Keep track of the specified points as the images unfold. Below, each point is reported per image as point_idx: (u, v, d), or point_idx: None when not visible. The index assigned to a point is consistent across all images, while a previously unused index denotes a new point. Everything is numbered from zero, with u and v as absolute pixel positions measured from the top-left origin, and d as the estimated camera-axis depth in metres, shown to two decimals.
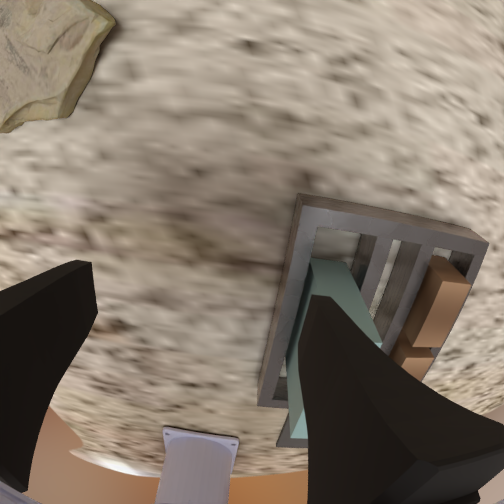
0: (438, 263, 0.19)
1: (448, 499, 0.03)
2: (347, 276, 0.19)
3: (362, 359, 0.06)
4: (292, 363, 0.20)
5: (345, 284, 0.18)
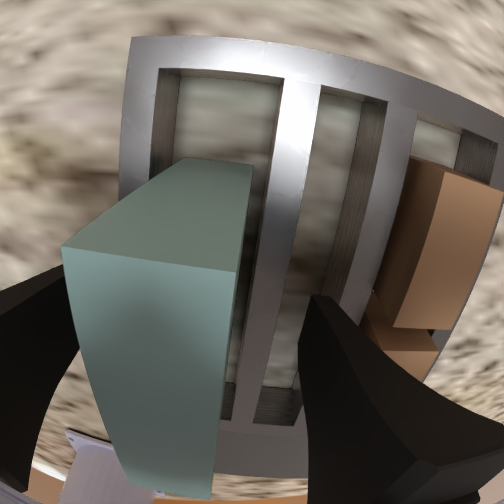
0: (433, 164, 0.10)
1: (448, 499, 0.03)
2: (240, 173, 0.09)
3: (362, 359, 0.06)
4: None
5: (224, 178, 0.09)
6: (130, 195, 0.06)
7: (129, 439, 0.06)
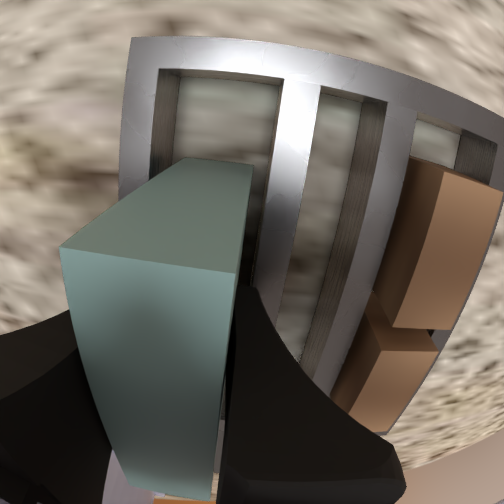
0: (433, 164, 0.10)
1: None
2: (240, 174, 0.09)
3: (253, 350, 0.06)
4: None
5: (224, 179, 0.08)
6: (129, 195, 0.06)
7: (128, 440, 0.06)
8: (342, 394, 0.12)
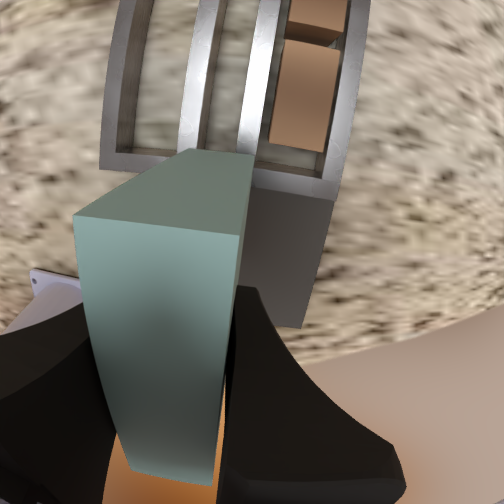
0: None
1: None
2: (241, 162, 0.10)
3: (252, 350, 0.06)
4: None
5: (226, 166, 0.09)
6: (137, 177, 0.07)
7: (132, 418, 0.06)
8: (272, 114, 0.14)
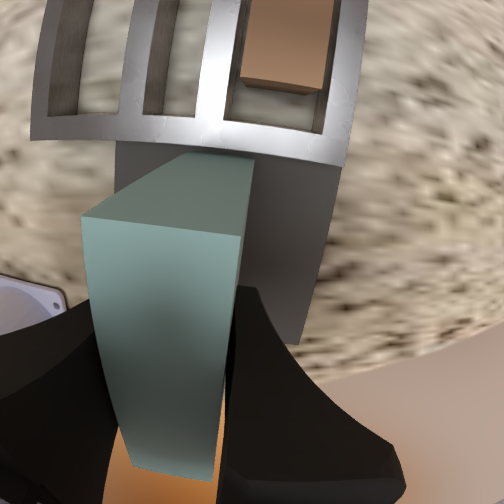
0: None
1: None
2: (242, 164, 0.10)
3: (252, 350, 0.06)
4: None
5: (227, 168, 0.09)
6: (141, 179, 0.07)
7: (134, 413, 0.06)
8: None
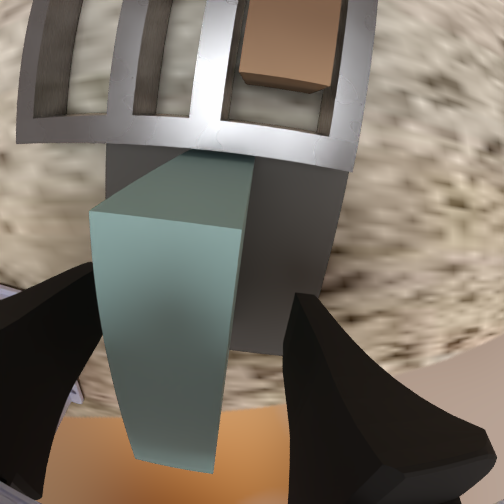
0: None
1: None
2: (242, 162, 0.10)
3: (340, 358, 0.06)
4: None
5: (228, 165, 0.09)
6: (145, 176, 0.07)
7: (138, 404, 0.07)
8: None
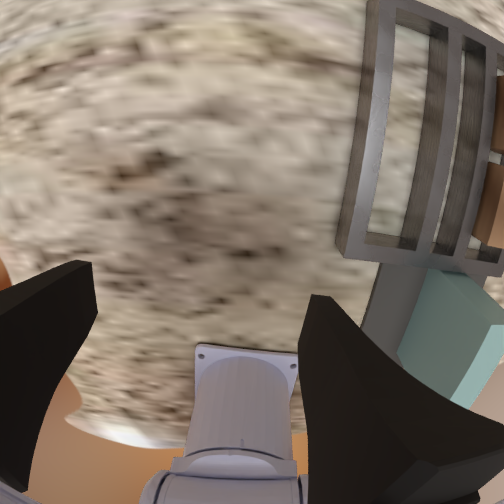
0: None
1: (448, 499, 0.03)
2: (466, 276, 0.18)
3: (362, 359, 0.06)
4: (418, 360, 0.19)
5: (469, 282, 0.17)
6: (469, 299, 0.15)
7: (461, 391, 0.14)
8: (482, 218, 0.16)
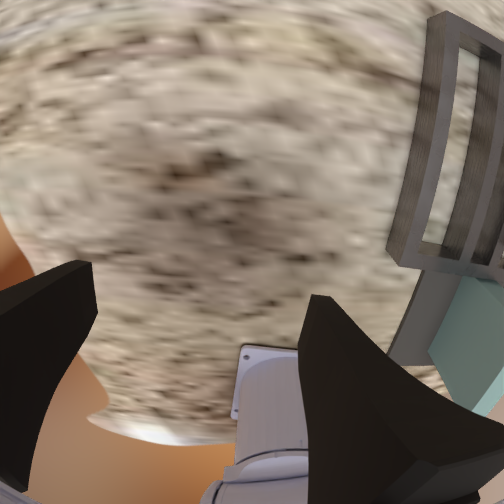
0: None
1: (448, 499, 0.03)
2: (496, 283, 0.18)
3: (362, 359, 0.06)
4: (450, 360, 0.20)
5: (500, 289, 0.17)
6: None
7: (493, 388, 0.15)
8: None
